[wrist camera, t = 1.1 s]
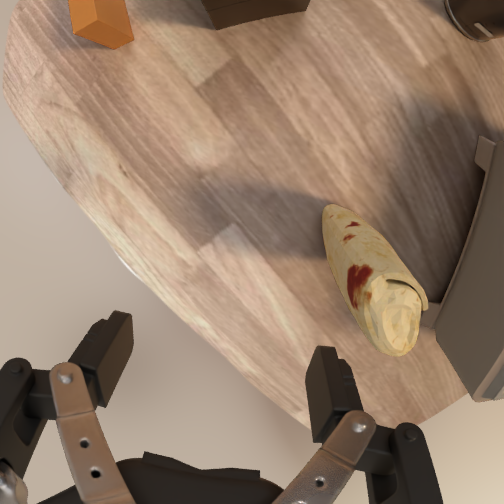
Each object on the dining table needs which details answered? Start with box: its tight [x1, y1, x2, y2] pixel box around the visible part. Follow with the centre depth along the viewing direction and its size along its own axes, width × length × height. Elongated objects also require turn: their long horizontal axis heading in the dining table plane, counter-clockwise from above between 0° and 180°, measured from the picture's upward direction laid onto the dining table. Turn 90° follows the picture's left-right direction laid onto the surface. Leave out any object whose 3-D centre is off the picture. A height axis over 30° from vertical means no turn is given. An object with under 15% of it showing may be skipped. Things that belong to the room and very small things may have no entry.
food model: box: [322, 204, 428, 357], centre depth 30 cm, size 10×7×20 cm
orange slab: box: [68, 0, 134, 49], centre depth 23 cm, size 3×10×10 cm, turn 16°
